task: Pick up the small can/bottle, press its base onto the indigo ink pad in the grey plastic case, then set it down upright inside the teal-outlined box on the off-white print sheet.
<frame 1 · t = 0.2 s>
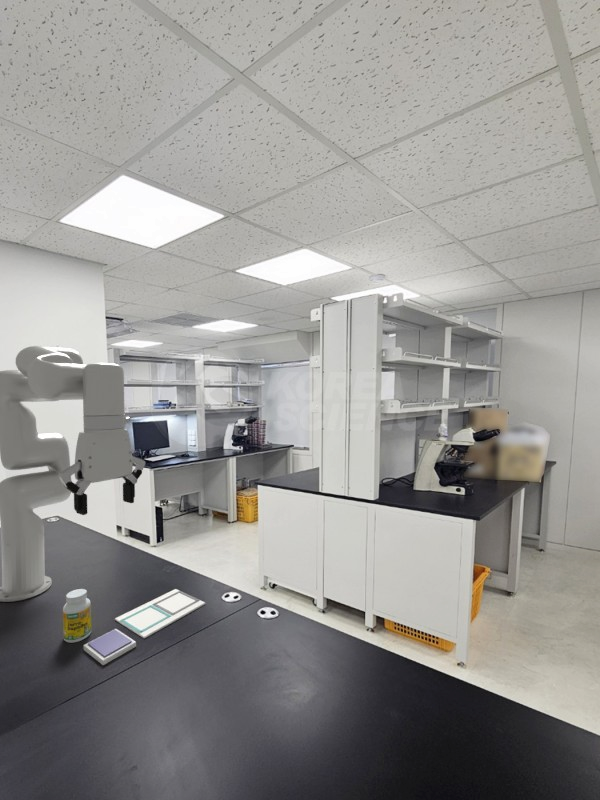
hand: (106, 507, 80), 30 cm above the lab bench, fingers open, 9 cm apart
supplement bottle: (77, 636, 86), on the lab bench
ink pad: (110, 648, 82), on the lab bench
print sheet: (161, 611, 95), on the lab bench
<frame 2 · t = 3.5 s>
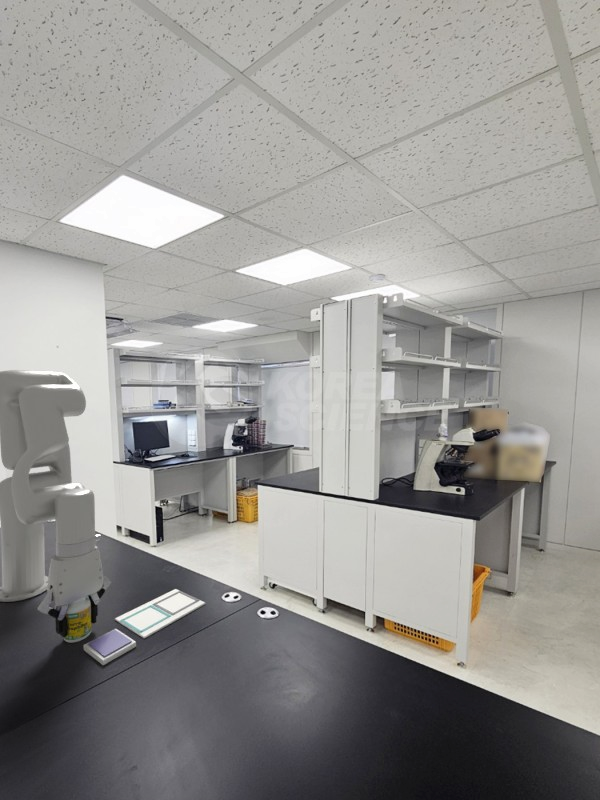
hand: (77, 626, 86), 2 cm above the lab bench, fingers closed on supplement bottle, 5 cm apart
supplement bottle: (77, 636, 86), on the lab bench, touching gripper
when the fingers open (3 cm above the lab bench, at t = 12.9 s): supplement bottle stays where it is, resting on print sheet.
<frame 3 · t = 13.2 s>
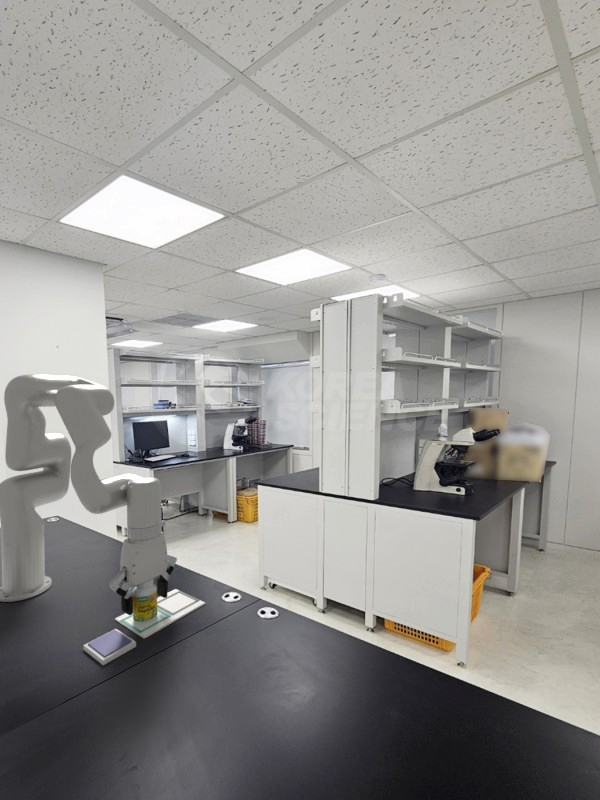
hand: (145, 603, 92), 4 cm above the lab bench, fingers open, 8 cm apart
supplement bottle: (145, 619, 92), resting on print sheet
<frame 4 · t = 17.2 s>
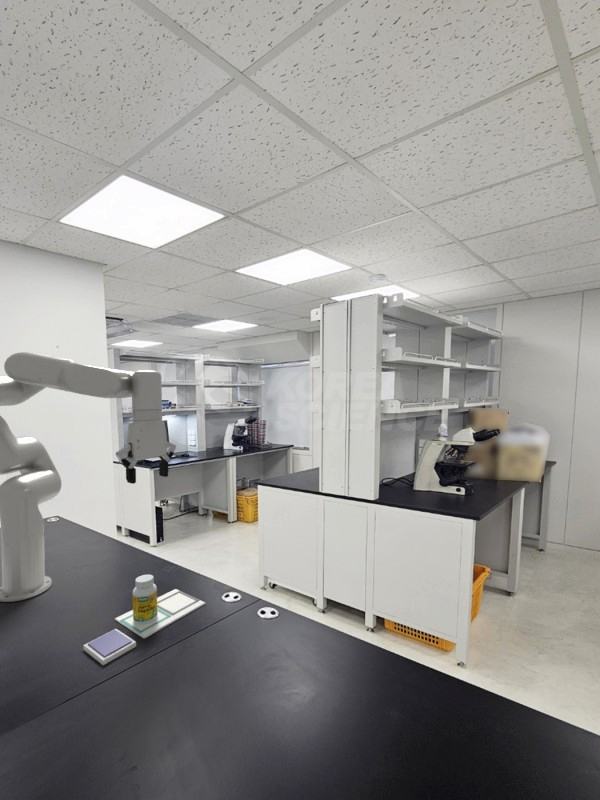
hand: (148, 479, 105), 30 cm above the lab bench, fingers open, 9 cm apart
nothing on the lab bench moved.
at the end: supplement bottle inside the target area on the print sheet (0.2 cm from its centre), point 0.2 cm above the print sheet's base; supplement bottle tilted 0°; the gripper is holding nothing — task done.
